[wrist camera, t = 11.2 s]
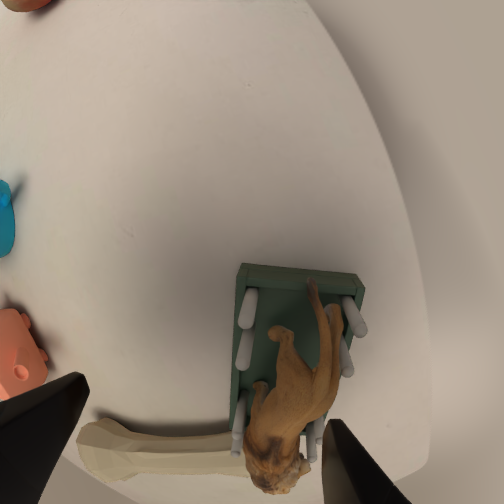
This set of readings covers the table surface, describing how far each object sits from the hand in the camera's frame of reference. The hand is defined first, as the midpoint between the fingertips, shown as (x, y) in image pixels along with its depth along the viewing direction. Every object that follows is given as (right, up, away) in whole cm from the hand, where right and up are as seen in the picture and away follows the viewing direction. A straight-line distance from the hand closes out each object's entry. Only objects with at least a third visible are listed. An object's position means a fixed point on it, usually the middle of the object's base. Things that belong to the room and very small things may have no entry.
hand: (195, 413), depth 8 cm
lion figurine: (+5, -3, +11) cm, 13 cm away
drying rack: (+5, -3, +13) cm, 14 cm away
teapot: (-26, -6, +17) cm, 31 cm away
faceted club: (-6, -15, +18) cm, 24 cm away
